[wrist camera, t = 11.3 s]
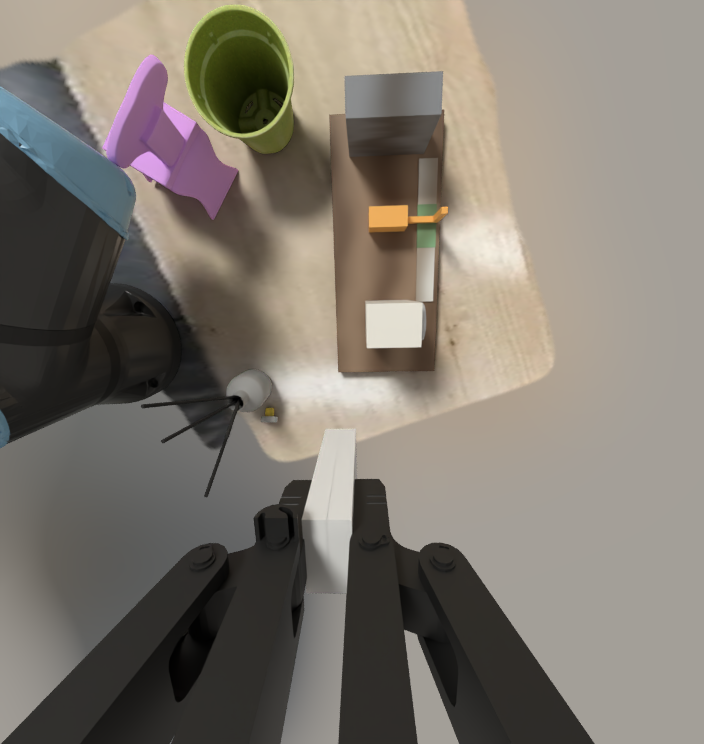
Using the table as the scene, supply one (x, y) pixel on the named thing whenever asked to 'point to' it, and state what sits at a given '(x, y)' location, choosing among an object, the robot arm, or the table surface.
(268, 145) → the plant pot
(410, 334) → the block
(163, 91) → the toy chair
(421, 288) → the gauge board
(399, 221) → the orange l-shaped piece
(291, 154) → the table surface
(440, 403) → the table surface
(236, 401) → the reed diffuser
